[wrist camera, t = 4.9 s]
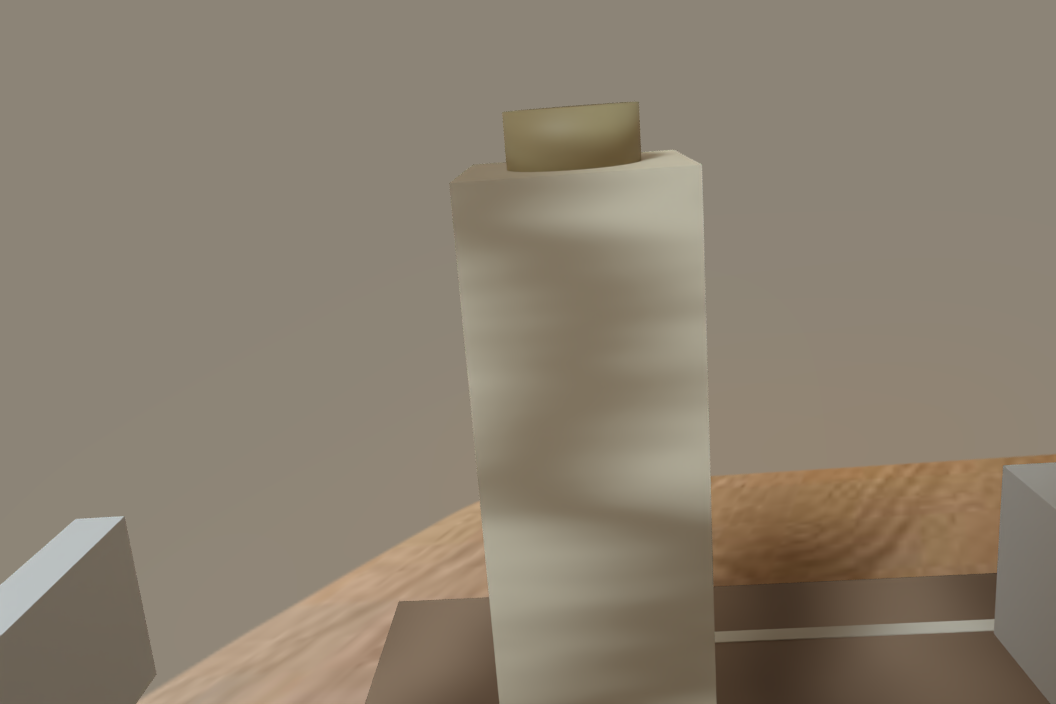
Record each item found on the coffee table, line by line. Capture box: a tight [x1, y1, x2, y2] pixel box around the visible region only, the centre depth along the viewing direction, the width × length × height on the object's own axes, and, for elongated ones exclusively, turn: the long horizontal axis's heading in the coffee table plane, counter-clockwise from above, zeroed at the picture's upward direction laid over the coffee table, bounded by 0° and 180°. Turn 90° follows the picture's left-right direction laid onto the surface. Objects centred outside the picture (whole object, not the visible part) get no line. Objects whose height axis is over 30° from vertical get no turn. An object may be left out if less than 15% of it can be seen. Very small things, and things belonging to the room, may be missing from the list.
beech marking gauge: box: [450, 102, 717, 704], centre depth 19 cm, size 4×9×14 cm, turn 178°
